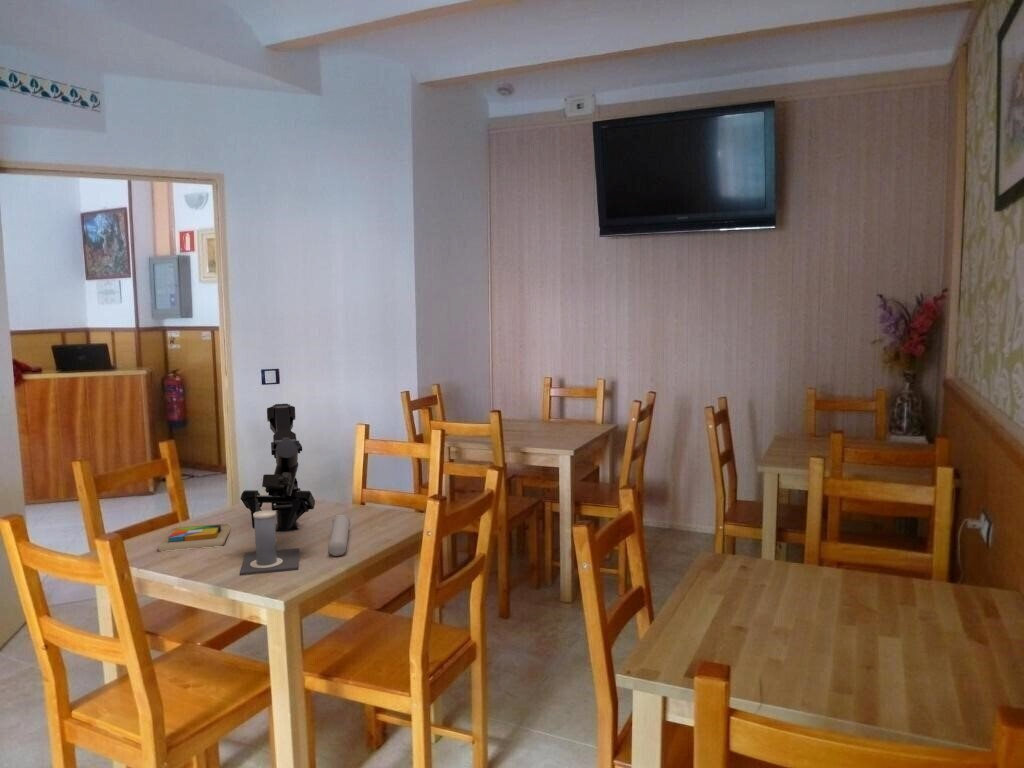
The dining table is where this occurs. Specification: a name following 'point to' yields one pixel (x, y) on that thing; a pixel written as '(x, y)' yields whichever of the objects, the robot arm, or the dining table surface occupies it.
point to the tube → (339, 535)
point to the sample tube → (265, 537)
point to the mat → (285, 562)
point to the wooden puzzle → (195, 537)
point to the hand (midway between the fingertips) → (270, 528)
